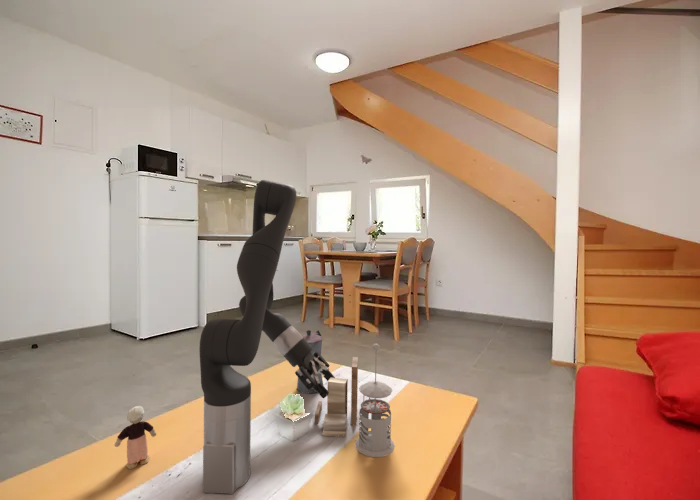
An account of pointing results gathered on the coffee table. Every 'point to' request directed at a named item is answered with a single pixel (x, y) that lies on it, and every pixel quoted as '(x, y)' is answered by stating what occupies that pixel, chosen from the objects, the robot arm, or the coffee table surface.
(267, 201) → the robot arm
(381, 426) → the french press
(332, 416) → the offcut stack
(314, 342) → the moka pot
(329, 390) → the light wooden block
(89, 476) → the coffee table surface
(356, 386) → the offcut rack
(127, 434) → the grandmother figurine
